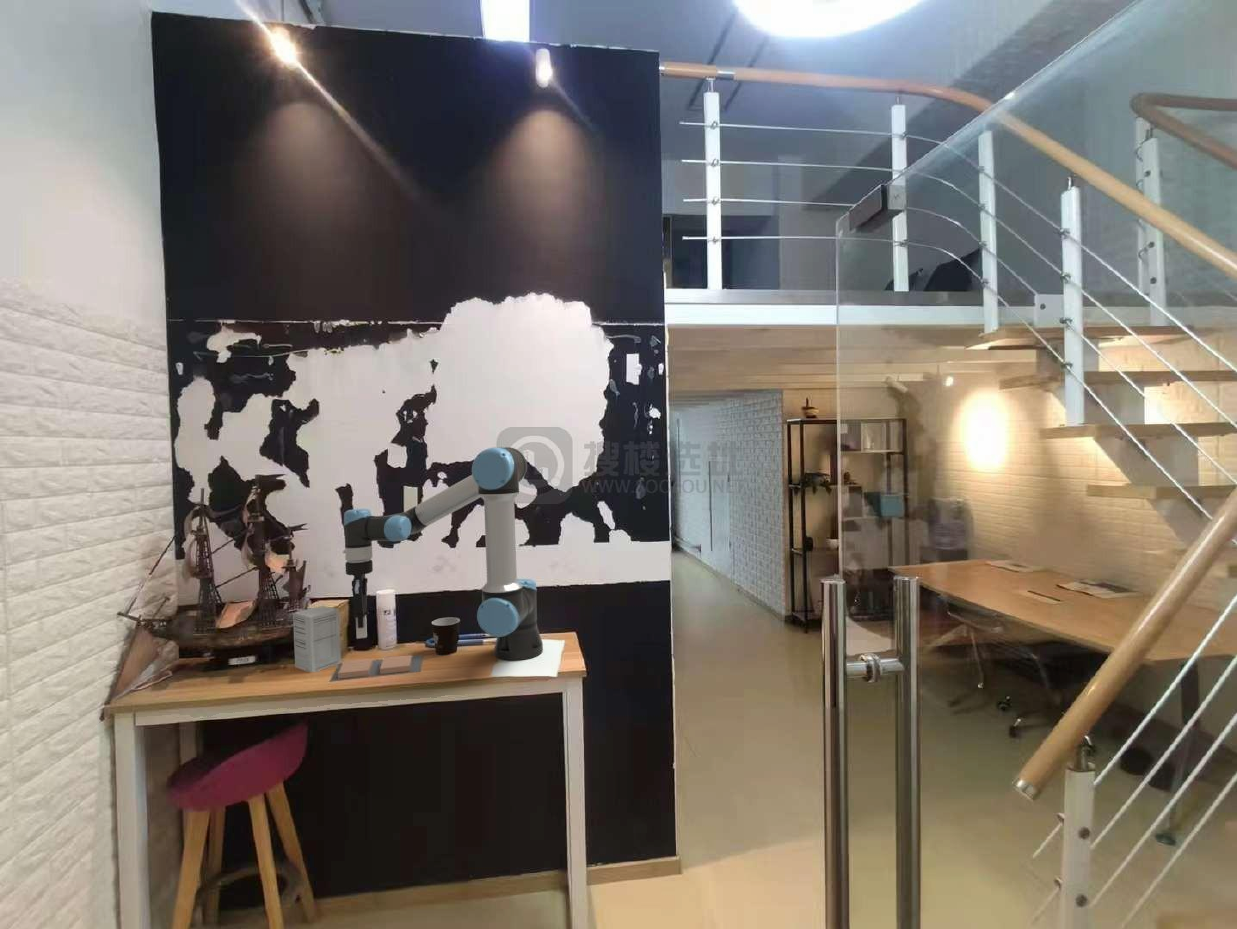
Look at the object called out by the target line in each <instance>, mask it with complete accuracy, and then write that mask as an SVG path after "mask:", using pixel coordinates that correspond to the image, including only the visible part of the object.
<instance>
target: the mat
mask: <svg viewBox="0 0 1237 929" xmlns="http://www.w3.org/2000/svg"><path fill="white" fill-rule="evenodd" d="M383 659H384V658H383ZM383 659H382V658H381V659H373V666H372V669H371V671H370V674H369V676H360V677H350V678H341V679H338V672H339V670H340V668H341V666H342V665H343V663H340V664H337V667H336V669H335V671H334V673H333V674H332V676H331V678H330V680H329V682H340V681H351V680H359V679H367V678H368V679H369V678H376V677H377V678H378V677H385V676H395V675H405V674H413V673H414V674H415V673H421V671H422V665H423V660H424V655H423V654H422V655H412V663H411V668H410V671H406V672H397V673H388V674H380V667H381V664H382V662H383Z"/></svg>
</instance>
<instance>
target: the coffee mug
mask: <svg viewBox="0 0 1237 929" xmlns="http://www.w3.org/2000/svg"><path fill="white" fill-rule="evenodd" d="M460 622H461V619H460V618H459V617H449V616H448V617H442V618H437V619H435V620H434V619H433V621H431V628H432V634H433V636H432V637H433V642H434V648H435V649H434V650H435V654H436V655H438V656H448V655H452V654H455V653H457V651H458V646H459V645H458V643H459V641H460Z"/></svg>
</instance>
